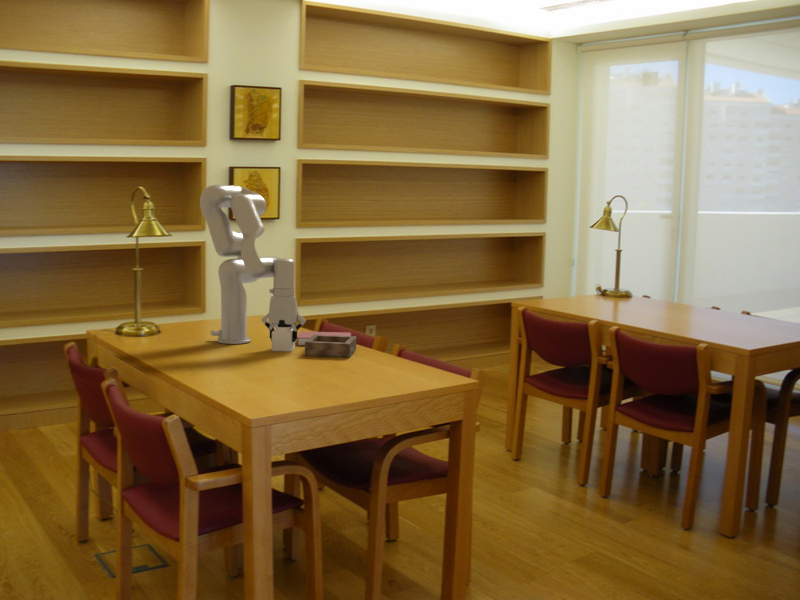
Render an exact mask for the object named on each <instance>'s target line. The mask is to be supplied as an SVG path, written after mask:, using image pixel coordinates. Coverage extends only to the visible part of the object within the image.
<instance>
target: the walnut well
mask: <svg viewBox="0 0 800 600" xmlns="http://www.w3.org/2000/svg"><path fill="white" fill-rule="evenodd" d="M355 350H356V351H357V336H352V335H351V336H333V335H313V336H312V337H310V338H309V339H308V340H307V341H306V342H305V346H304V357H319V358H322V357H323V358H339V357H341V358H342V359H344V358H346V359H350V358H351V357H352V356H353V355H354V353H355V352H356V351H355ZM351 355H352V356H351Z"/></svg>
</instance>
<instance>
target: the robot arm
mask: <svg viewBox="0 0 800 600" xmlns="http://www.w3.org/2000/svg"><path fill="white" fill-rule="evenodd" d="M200 194H201V195H200V199H199V206H200V210H201V212H202V215H203V217H204V220H205V222H206V224H207V226H208V227H207V228H208V230H209V234H210V237H211V241H212V245H213V247H214V250H215V252H216V255H218V256H219V257H222V258H230V259H225V260H223V261H222V262H221V263H220V265H219V267H218V278H219V284H220V295H221V296H220V303H221V304H220V309H221V310H220V311H221V312H220V322H221V323H220V325H221V326H220V328H221V329H218V330H216V329H215V330H213V329H212V330H210V335H211V336H212V337H213V336H217V338H216V342H217V343H220V344H225V345H226V344H227V345H243V344H247V343H250V342H251V338H250V337H249V336H248V335H247V331H248V329H247V325H248V323H247V322H248V321H247V318H248V317H247V312H248V311H247V309H248V307H247V305H248V303H247V302H248V301H247V297H248V296H247V291H246V289H245V287H244V284H249V283H255V282H257V281H258V280H260V279H265V278H273V286H272V287H273V288H269V291H268V292H269V293H270V294H272V296H271V297H270V300H269V307H268V313H267V314H266V315H264V316H263V317H262V318H261V321H262V323H263V324H264V325H265V326H266V327H267V329H268V330H269V339H270V342H272V331H274V330H276V328H275V324H279V320H285V324H287V325H291V326H292V329H293V331H292V342H295V343H296V342H297V341H296V340H297V337H298V330H299V329H301V327H303V325H304V324H305V323H306V322H307V319H305V318H304V317H303V316H302V315H300V313H299V311H298V310H299V309H298V300H297V297H296V296H295V275H296V274H295V267H296V265H295V261H294V260H293V259H291V258H282V257H281V258H280V257H278V256H261V257H260V256H259V254H258V252H257V248H256V244H255V243H256V240H257V239H258V238H260V237H261V236H262V235H263V234H264V232H265V229H266V228H265V226H264V224H263V222H262V219H261V217H262V216H264V214H265V212H266V211H267V203H266V200H265V198H264V197H263V196H262V195H260V193H258V192H255V191H252V190H251V189H248V188H245V187H243V186H240V185H235V184H234V185H233V184H231V185H230V184H213V185H212V184H211V185H209V186H207V187H205V188H204V189H203V191H202V193H200ZM222 208H230V209H231V212H232V214H233V216H234V219H235V221H236V223H237V224H236V225H237V226H238V228H239V231H234V228H233V225H232V224H231V220H230V218H229V216H228V215H227V213H225V211H224V210H223V209H222ZM232 257H233V258H232ZM234 257H237V258H234ZM298 321H299V323H298ZM297 323H298V324H297Z"/></svg>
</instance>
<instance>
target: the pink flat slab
mask: <svg viewBox="0 0 800 600" xmlns="http://www.w3.org/2000/svg"><path fill="white" fill-rule="evenodd" d="M313 335H333V336H352V333H351V332H345V331H344V332H342V331H341V332H340V331H339V332H338V331H299V332H298V334H297V341H296V344H297V345H296V346H301V347H302V346H304V347H305V342H306V341H307V340H308V339H309V338H310V337H312V336H313Z"/></svg>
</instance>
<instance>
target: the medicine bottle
mask: <svg viewBox="0 0 800 600" xmlns="http://www.w3.org/2000/svg"><path fill="white" fill-rule="evenodd" d="M274 329H275V330H274V331H272V341H271V351H272V352H287V353H288V352H289V353H290V352H292V351H294V350H295V348H296V341H295V342H292V331H293V328H292V326H291V325H287V324H285V320H279V324H275V327H274Z"/></svg>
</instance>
